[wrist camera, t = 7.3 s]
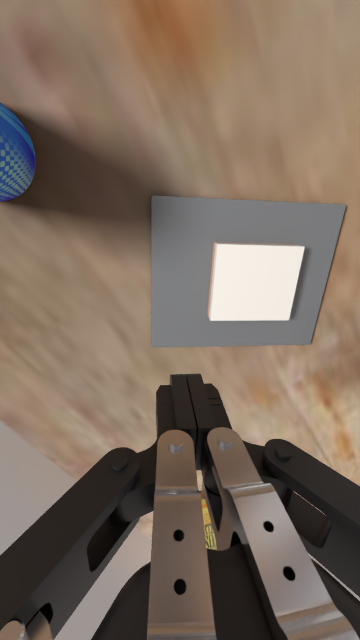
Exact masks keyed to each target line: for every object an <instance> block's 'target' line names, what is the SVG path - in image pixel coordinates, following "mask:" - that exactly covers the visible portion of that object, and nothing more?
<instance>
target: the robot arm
mask: <svg viewBox="0 0 360 640" xmlns="http://www.w3.org/2000/svg"><path fill="white" fill-rule="evenodd" d="M156 425H157V440H156V442H155V443H154V444H153V445H152V446H151V447H150V448H148V449H147V450H144V451H142V452H139V453H136V452H135V451H134V450H132V449H129V448H125V447H121V448H116V449H113V450H111V451H110V452H108V453H107V454H106V455H105V456H104V457H103V458H101V459H100V460H99V461H98V462H97V463H96V464H95V465H94V466H93V467H92V468H91V469H90V470H89V471H88V472H87V473H86V474H85V475H84V476H83V477H82V478H81V479H80V480H79V481H77V482H76V483H75V484H74V485H73V486H72V487H71V488H70V489H69V490H68V491H67V492H66V493H65V494H64V495H63V496H62V497H61V498H60V499H59V500H58V501H57V502H56V503H55V504H54V505H52V507H51V508H49V509H48V510H47V511H46V512H45V513H44V514H43V515H42V516H41V517H40V518H39V519H38V520H37V521H36V522H35V523H34V524H33V525H32V526H31V527H30V528H29V529H27V530H26V531H25V532H24V533H23V534H22V535H21V536H20V537H19V538H18V539H17V540H16V541H15V542H14V543H13V544H12V545H11V546H10V547H9V548H8V549H7V550H6V551H5V552H4V553H3V554H1V555H0V640H54V638H55V637H56V636H57V634H58V633H59V631H60V630H61V629H62V627H63V626H64V625H65V623H66V622H67V620H68V619H69V618H70V616H71V615H72V613H73V612H74V611H75V609H76V608H77V606H78V605H79V604H80V602H81V601H82V599H83V598H84V597H85V595H86V594H87V592H88V591H89V590H90V588H91V587H92V585H93V584H94V583H95V581H96V580H97V578H98V577H99V576H100V574H101V573H102V572H103V570H104V569H105V567H106V566H107V565H108V563H109V562H110V560H111V559H112V557H113V556H114V555H115V553H116V552H117V550H118V549H119V548H120V546H121V545H122V544H123V542H124V541H125V539H126V538H127V537H128V535H129V534H130V532H131V531H132V530H133V528H134V527H135V526H136V524H137V523H138V521H139V519H140V517H141V516H143V515H145V514H147V513H150V512H152V511H154V512H153V531H152V551H151V562H149V563H148V564H146V565H145V566H143V567H142V568H140V569H139V570H138V571H137V572H136V573H135V574H134V575H133V576H132V577H131V578H130V579H129V580H128V581H127V582H126V584H125V585H124V586H123V588H122V589H121V591H120V592H119V594H118V596H117V597H116V599H115V600H114V602H113V604H112V605H111V607H110V609H109V611H108V612H107V614H106V615H105V617H104V619H103V621H102V622H101V624H100V626H99V627H98V629H97V631H96V632H95V634H94V636H93V637H92V639H91V640H360V601H359V600H358V599H357V598H355V597H354V596H353V595H352V594H351V593H350V592H349V591H348V590H346V588H344V587H343V586H342V585H341V584H340V583H339V582H338V581H337V580H336V579H335V578H333V577H332V576H331V575H330V574H329V573H328V572H327V571H326V570H325V569H323V568H322V567H321V566H320V565H319V564H318V563H316V562H315V561H314V560H312V559H311V558H310V557H309V555H308V553H309V554H310V555H311V556H313V557H314V558H315V559H316V560H317V561H319V562H320V563H321V564H322V565H323V566H324V567H325V568H326V569H328V570H329V571H330V572H331V573H332V574H334V575H335V576H336V577H337V578H338V579H339V580H340V581H342V582H343V583H344V584H345V585H346V586H347V587H349V588H350V589H351V590H352V591H353V592H354V593H355V594H357V595H358V596H359V597H360V486H358V485H357V484H355V483H353V482H352V481H350V480H349V479H347V478H346V477H344V476H342V475H341V474H339V473H338V472H336V471H334V470H333V469H331V468H330V467H328V466H326V465H325V464H323V463H322V462H320V461H319V460H317V459H315V458H314V457H312V456H311V455H309V454H307V453H306V452H304V451H303V450H301V449H300V448H298V447H296V446H295V445H293V444H292V443H290V442H288V441H286V440H282V439H272V440H269V441H268V442H267V443H266V444H265V446H259V445H255V444H251V443H247V442H245V441H243V440H242V439H241V437H240V436H239V435H238V434H237V433H236V432H235V431H233V430H232V427H231V424H230V422H229V419H228V416H227V414H226V411H225V408H224V406H223V403H222V400H221V397H220V394H219V392H218V390H217V389H216V388H215V387H214V386H213V385H212V384H204V383H203V380H202V377H201V374H186V375H185V374H176V375H170V385H160V387H159V389H158V390H157V392H156ZM196 470H201V471H202V476H203V481H202V490H203V494H204V497H205V501H206V505H207V509H208V512H209V516H210V520H211V524H212V527H213V531H214V535H215V540H216V549H217V550H213V549H208V548H206V539H205V529H204V520H203V510H202V501H201V494H200V491H198V486H197V475H196ZM294 491H295V492H296V493H297V494H296V493H295V492H294ZM298 494H299V495H300V496H301V497H300V496H299V495H298ZM302 497H303V498H304V499H306V500H307V501H308V502H310V503H311V504H312V505H314V506H315V507H316V508H318V509H319V510H321V511H322V512H323V513H324V514H325V515H324V514H323V513H322V512H320V511H319V510H318V509H316V508H315V507H314V506H312V505H311V504H310V503H308V502H307V501H306V500H304V499H303V498H302ZM307 552H308V553H307Z"/></svg>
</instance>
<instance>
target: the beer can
mask: <svg viewBox="0 0 360 640" xmlns="http://www.w3.org/2000/svg"><path fill="white" fill-rule="evenodd" d="M35 167H36V159H35V151H34V147H33V144H32V141H31V138H30V136H29V134H28V132H27V130H26V129H25V127H24V125H23V124H22V123H21V121H20V120H19V119H18V118H17V117H16V115H15V114H14V113H13V112H11V111H10V110H9V109H8V108H7V107H5V106H4V105H3V104H1V103H0V201H8V200H11V199H14V198H16V197H18V196H19V195H21V194H22V193H23V192H24V191H25V190H26V189H27V188H28V187H29V185H30V184H31V182H32V179H33V177H34V173H35Z"/></svg>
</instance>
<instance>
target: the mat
mask: <svg viewBox="0 0 360 640" xmlns="http://www.w3.org/2000/svg"><path fill="white" fill-rule="evenodd" d="M345 208H346V205H340V204H319V203H298V202H277V201H256V200H235V199H215V198H194V197H173V196H151V347H196V346H259V345H310V343H311V339H312V335H313V332H314V328H315V324H316V320H317V316H318V312H319V308H320V304H321V301H322V297H323V293H324V289H325V285H326V281H327V277H328V273H329V270H330V266H331V262H332V258H333V254H334V250H335V246H336V242H337V239H338V235H339V231H340V227H341V223H342V219H343V215H344V212H345ZM214 242H236V243H270V244H298V245H301V246H304V247H305V248H304V253H303V257H302V262H301V267H300V271H299V276H298V281H297V285H296V290H295V295H294V299H293V304H292V309H291V313H290V318H289V320H258V321H210V319H209V317H208V303H209V292H210V281H211V269H212V258H213V246H214Z"/></svg>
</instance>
